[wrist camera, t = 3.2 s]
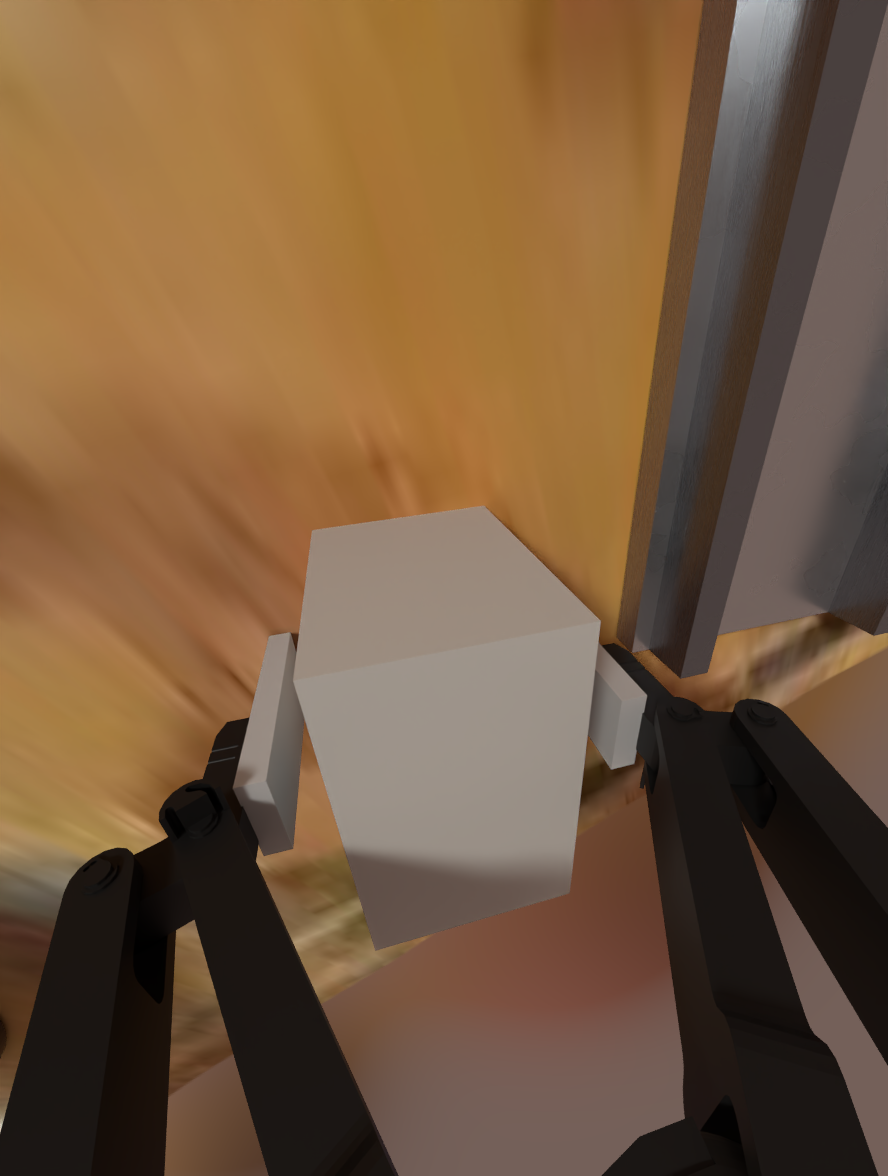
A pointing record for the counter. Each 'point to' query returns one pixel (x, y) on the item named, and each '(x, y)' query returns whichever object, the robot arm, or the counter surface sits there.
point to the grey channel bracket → (770, 339)
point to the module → (445, 715)
